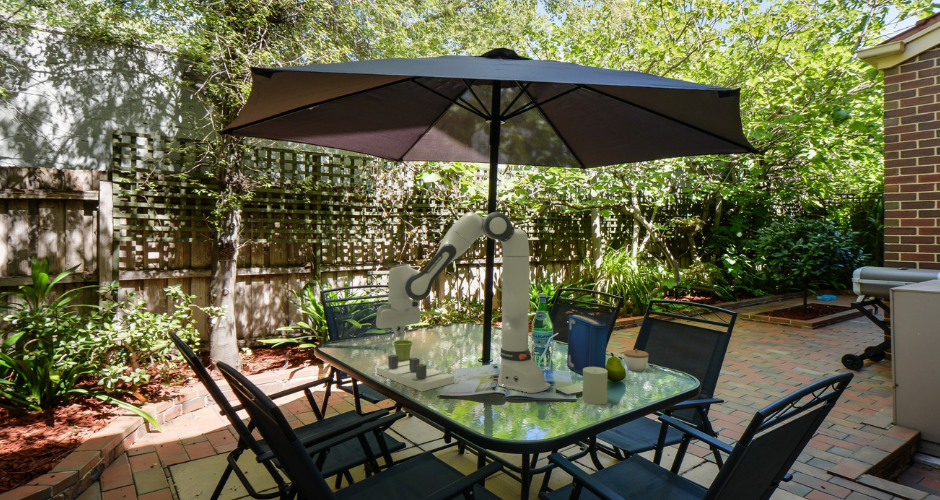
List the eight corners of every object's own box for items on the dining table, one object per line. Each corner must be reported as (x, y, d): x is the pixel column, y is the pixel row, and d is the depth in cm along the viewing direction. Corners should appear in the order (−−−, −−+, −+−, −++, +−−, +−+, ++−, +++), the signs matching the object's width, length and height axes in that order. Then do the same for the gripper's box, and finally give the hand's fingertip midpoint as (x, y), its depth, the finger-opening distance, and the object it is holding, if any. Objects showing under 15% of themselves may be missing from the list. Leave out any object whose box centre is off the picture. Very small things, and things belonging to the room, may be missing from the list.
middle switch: (419, 370, 218) (419, 358, 218) (413, 371, 216) (413, 360, 215) (415, 369, 220) (415, 357, 220) (409, 370, 218) (409, 358, 218)
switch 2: (426, 377, 208) (426, 365, 207) (420, 379, 206) (420, 366, 205) (421, 375, 210) (422, 363, 210) (416, 377, 208) (416, 365, 208)
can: (583, 403, 188) (583, 371, 188) (581, 395, 197) (581, 364, 197) (608, 405, 187) (609, 372, 186) (605, 396, 196) (606, 366, 196)
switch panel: (454, 382, 212) (454, 375, 212) (421, 391, 201) (421, 383, 200) (408, 366, 235) (408, 360, 235) (376, 374, 224) (376, 366, 224)
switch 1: (398, 367, 222) (398, 356, 222) (392, 368, 220) (392, 357, 220) (394, 365, 225) (394, 354, 224) (388, 367, 223) (388, 355, 222)
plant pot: (416, 359, 250) (416, 341, 249) (404, 363, 242) (404, 345, 241) (401, 356, 254) (401, 339, 254) (389, 360, 246) (389, 342, 246)
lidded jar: (643, 366, 239) (644, 346, 239) (651, 373, 229) (651, 352, 228) (620, 366, 240) (621, 346, 239) (627, 372, 229) (627, 351, 229)
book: (608, 379, 218) (609, 321, 217) (594, 381, 215) (595, 322, 214) (579, 366, 238) (580, 313, 237) (566, 368, 235) (567, 314, 234)
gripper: (381, 306, 202) (381, 341, 202) (422, 302, 216) (422, 334, 216) (373, 304, 206) (372, 338, 207) (414, 300, 220) (413, 332, 221)
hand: (398, 336), depth 212 cm, fingers closed
